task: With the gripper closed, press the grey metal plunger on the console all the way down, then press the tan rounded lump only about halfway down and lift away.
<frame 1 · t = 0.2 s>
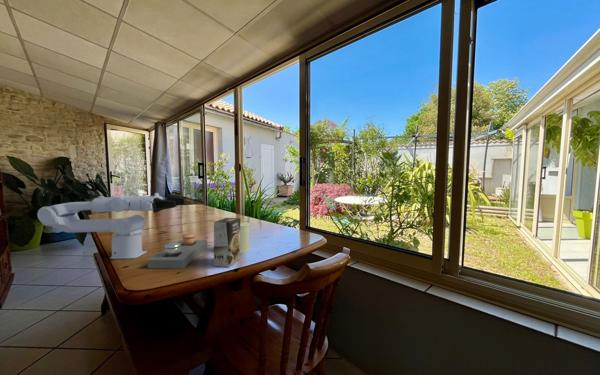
hand: (179, 202, 96), 21 cm above the table, tool horizontal, fingers open, 7 cm apart
grey plunger: (172, 249, 89), point 5 cm above the table, slide at 0.0 cm
tan rounded lump: (188, 239, 103), point 5 cm above the table, slide at 0.0 cm
coffee box: (227, 263, 91), on the table
console: (181, 256, 97), on the table
can: (238, 250, 106), on the table
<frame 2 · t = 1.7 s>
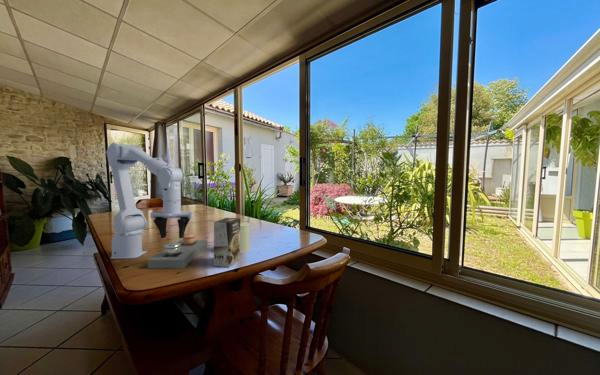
hand: (172, 237, 89), 9 cm above the table, tool pointing down, fingers open, 6 cm apart
nothing on the table moved.
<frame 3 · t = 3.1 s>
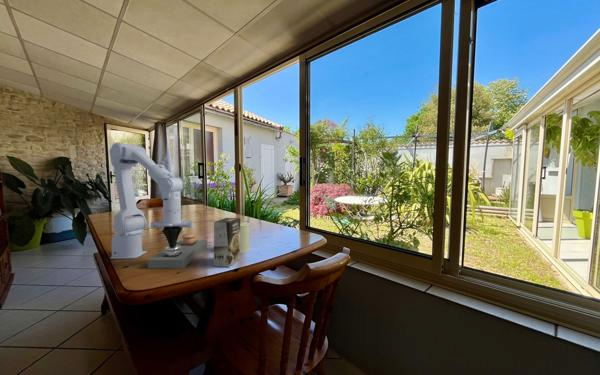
hand: (172, 246, 89), 6 cm above the table, tool pointing down, fingers closed, pressing on grey plunger
grey plunger: (172, 252, 90), point 4 cm above the table, slide at 0.9 cm, touching gripper
everything else where it was.
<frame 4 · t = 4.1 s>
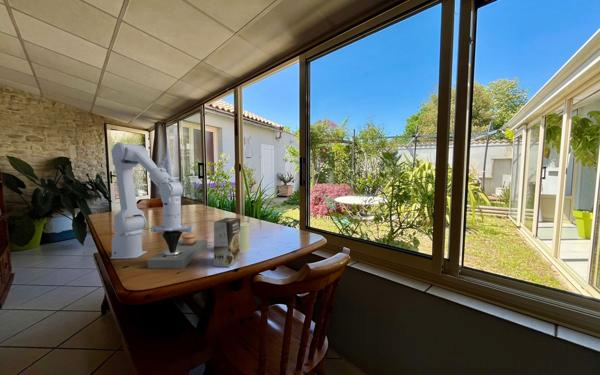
hand: (172, 251, 90), 4 cm above the table, tool pointing down, fingers closed
grey plunger: (172, 256, 90), point 2 cm above the table, slide at 2.6 cm
everything else where it was.
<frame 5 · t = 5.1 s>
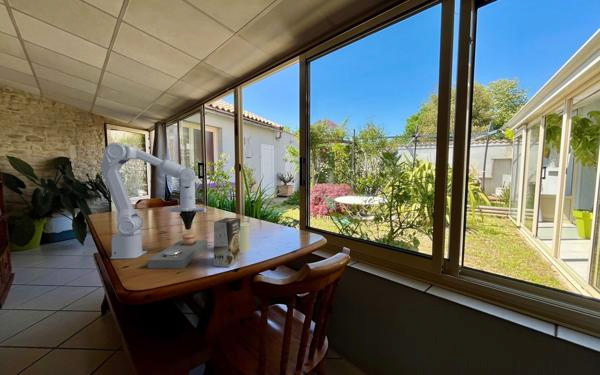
hand: (188, 229, 103), 9 cm above the table, tool pointing down, fingers closed
nothing on the table moved.
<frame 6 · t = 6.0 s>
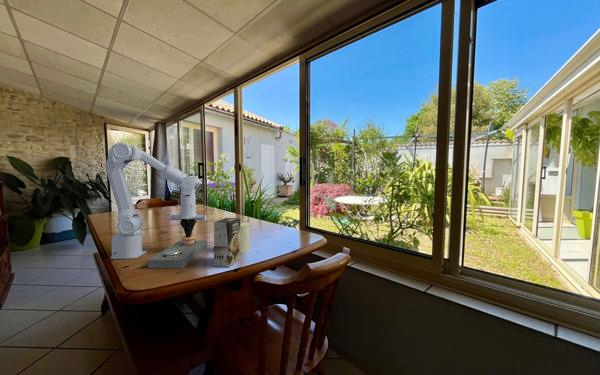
hand: (188, 237, 103), 6 cm above the table, tool pointing down, fingers closed, pressing on tan rounded lump
tan rounded lump: (188, 241, 104), point 4 cm above the table, slide at 0.8 cm, touching gripper
everything else where it was.
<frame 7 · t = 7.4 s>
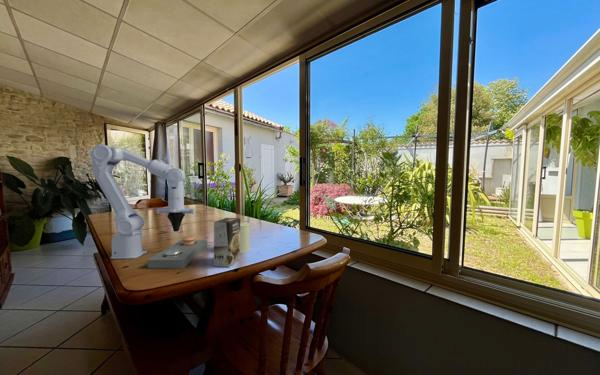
hand: (176, 231, 100), 9 cm above the table, tool pointing down, fingers closed
tan rounded lump: (188, 242, 104), point 4 cm above the table, slide at 1.2 cm
everything else where it was.
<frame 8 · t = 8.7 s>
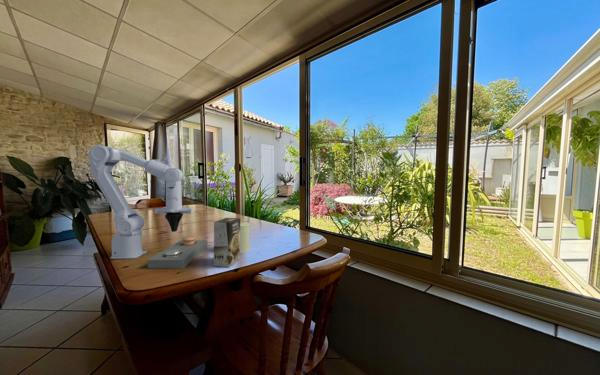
hand: (174, 231, 99), 9 cm above the table, tool pointing down, fingers closed
nothing on the table moved.
at the end: grey plunger slide at 2.6 cm; tan rounded lump slide at 1.2 cm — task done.
